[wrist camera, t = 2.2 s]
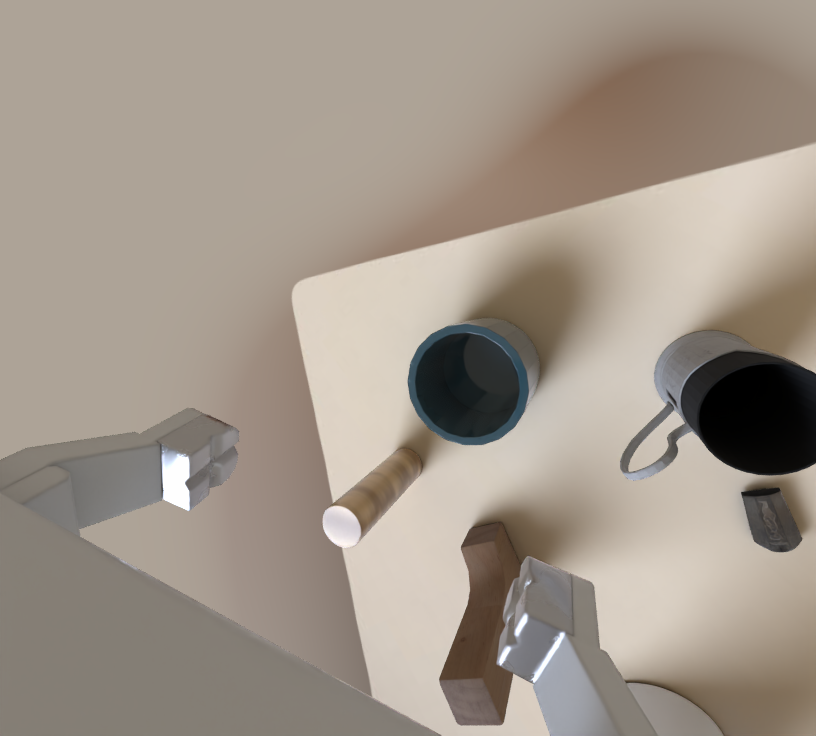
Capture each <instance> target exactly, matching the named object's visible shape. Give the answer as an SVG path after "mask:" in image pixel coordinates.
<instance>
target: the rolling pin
mask: <svg viewBox="0 0 816 736" xmlns="http://www.w3.org/2000/svg"><path fill="white" fill-rule="evenodd" d="M421 470H422V463H421V460H420V458H419V457H418V455H417V454H416V453H415V452H413V451H412V450H410V449H405V448H402V449H399V450H397V451H395V452H394V453H393V454H392V455H391V456H389V457H388V458H387V459H386V460H385V461H383V462H382V463H381V464H380V465H379V466H377V467H376V468H375V469H374V470H373V471H371V472H370V473H369V474H368V475H367V476H365V477H364V478H363V479H362V480H361V481H360V482H358V483H357V484H356V485H355V486H354V487H352V488H351V489H350V490H349V491H348V492H346V493H345V494H344V495H343V496H342V497H340V498H339V499H338V500H337V501H336V502H334V503H333V504H332V505H331V506H330V507H329V508H327V509H326V511H325V512H324V514H323V519H322V522H323V528H324V531H325V533H326V535H327V536H328V538H330V540H331V541H332V542H333V543H335V544H336V545H338V546H340V547H344V548H350V547H353V546H355V545H356V544H357V543H358V542H359V541H360V540H361V539H362V538H363V537H364V536H365V535H366V534H367V532H368V531H369V530H370V529H371V528H372V527H373V526H374V525H375V524H376V523H377V521H378V520H379V519H380V518H381V517H382V516H383V515H384V514H385V513H386V512H387V511H388V509H389V508H390V507H391V506H392V505H393V504H394V503H395V502H396V501H397V500H398V498H399V497H400V496H401V495H402V494H403V493H404V492H405V491H406V490H407V489H408V487H409V486H410V485H411V484H412V483H413V482H414V481H415V480H416V479H417V478H418V476H419V475H420V473H421Z"/></svg>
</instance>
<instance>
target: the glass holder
mask: <svg viewBox="0 0 816 736" xmlns="http://www.w3.org/2000/svg"><path fill="white" fill-rule="evenodd" d="M654 381H655V385H656V389H657V391H658V393H659V395H660V397H661V398H662V400H663V401H664V402H665V403H666V404H667V405H666V407H665V408H664V409H663V410H662V411H661V412H660V413H659V414H658V415H657V416H656V417H655V418H653V419H652V420H651V421H650V422H649V423H648V424H647V425H646V426H645V427H644V428H643V429H642V430H641V431H640V432H639V433H638V434H637V435H636V436H635V437H634V438H633V439H632V440H631V442H630V443H629V445H628V446H627V448H626V449H625V451H624V453H623V455H622V458H621V461H620V468H621V471H622V472H623V474H624V475H625V476H626V478H627V479H629V480H633V481H634V480H641V479H644V478H647V477H650V476H652V475H654V474H656V473H658V472H660V471H661V470H663V469H664V468H666V467H667V466H668V465H669V464H670V463H671V462H672V461H673V460H674V459H675V457H676V456H677V453H678V448H677V445H676V441H677V440H678V439H679V438H680V437H682V436H683V435H685V434H687V433H689V432H691V431H693V432H694V433H695V434H696V435H697V436H698V437H699V438H700V439H701V440H702V442H703V443H704V444H705V446H706V447H707V448H708V450H709V451H710V452H711V453H712V454H713V455H714V456H715V457H716V458H718V459H719V460H721V461H722V462H723V463H725V464H727V465H729V466H731V467H733V468H735V469H738V470H741V471H744V472H747V473H752V474H757V475H784V474H789V473H793V472H797V471H800V470H803V469H805V468H808V467H810V466H812V465H814V464H815V463H816V374H815V373H814V372H812V371H810V370H807V369H805V368H803V367H802V366H800V365H798V364H797V363H795V362H793V361H791V360H788V359H786V358H783V357H781V356H778V355H775V354H772V353H769V352H766V351H764V350H761V349H758V348H755V347H752V346H751V345H750V344H749V343H748V342H746V341H745V340H743V339H741V338H740V337H738V336H735V335H733V334H731V333H726V332H722V331H713V330H710V331H699V332H694V333H691V334H688V335H685V336H683V337H681V338H679V339H677V340H676V341H674V342H673V343H672V344H670V345H669V346H668V347H667V348H666V349H665V350H664V351H663V353H662V354H661V356H660V357H659V359H658V362H657V364H656V367H655V373H654ZM673 410H674V411H676V412H677V413H679V415H680V416H681V417H682V419H683V420H684V422H685V424H684V425H682V426H680V427H678V428H677V429H675V430H674V431H672V432H671V433H670V434H669V435H668V437H667V440H668V443H669V447H668V449H667V451H666V452H665V454H664V455H663V456H662V457H661V458H660V459H659V460H657V461H656V462H654V463H653V464H651V465H649V466H647V467H645V468H643V469H640V470H638V471H633V472H628V465H629V462H630V459H631V457H632V455H633V454H634V452H635V450H636V449H637V447H638V446H639V445H640V444H641V442H642V441H643V440H644V439H645V438H646V437H647V436H648V435H649V434H650V433H651V432H652V431H653V430H654V429H655V428H656V427H657V426H658V425H659V424H660V423H662V422H663V421H664V420H665V419H666V418H667V417H668V416H669V415H670V414H671V413H672V411H673Z"/></svg>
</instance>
